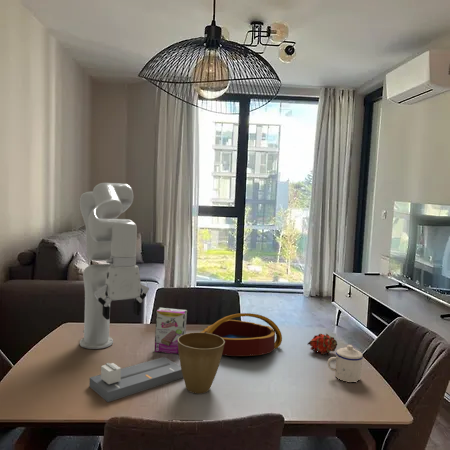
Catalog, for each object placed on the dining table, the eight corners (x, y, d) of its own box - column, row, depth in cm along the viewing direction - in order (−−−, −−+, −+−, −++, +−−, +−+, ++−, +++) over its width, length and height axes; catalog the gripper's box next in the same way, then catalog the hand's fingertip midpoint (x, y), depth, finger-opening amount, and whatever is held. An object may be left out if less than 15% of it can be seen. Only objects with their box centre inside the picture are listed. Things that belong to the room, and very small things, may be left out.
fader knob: (100, 378, 133) (101, 364, 132) (112, 374, 135) (112, 361, 135) (108, 384, 129) (109, 370, 129) (120, 380, 132) (121, 367, 131)
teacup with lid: (355, 372, 156) (358, 341, 155) (364, 384, 147) (367, 351, 146) (323, 371, 155) (325, 340, 154) (330, 383, 146) (332, 350, 145)
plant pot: (204, 404, 127) (207, 352, 126) (165, 390, 135) (167, 340, 133) (230, 386, 140) (233, 338, 138) (193, 373, 147) (195, 328, 146)
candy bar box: (153, 352, 164) (155, 310, 162) (157, 347, 169) (158, 307, 167) (182, 355, 163) (184, 313, 161) (185, 350, 168) (187, 309, 166)
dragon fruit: (339, 358, 172) (308, 360, 173) (334, 340, 178) (305, 342, 179) (340, 346, 166) (309, 348, 167) (336, 328, 173) (306, 330, 174)
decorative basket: (266, 340, 191) (266, 306, 192) (298, 355, 163) (297, 316, 164) (192, 346, 180) (192, 310, 181) (213, 364, 153) (212, 322, 153)
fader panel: (89, 386, 134) (89, 377, 134) (163, 365, 153) (164, 356, 153) (107, 402, 125) (108, 392, 125) (184, 377, 144) (184, 368, 144)
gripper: (99, 265, 124) (98, 323, 125) (154, 262, 134) (152, 315, 135) (91, 261, 130) (90, 316, 131) (144, 258, 140) (142, 309, 141)
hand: (121, 316), depth 133 cm, fingers open, 9 cm apart
